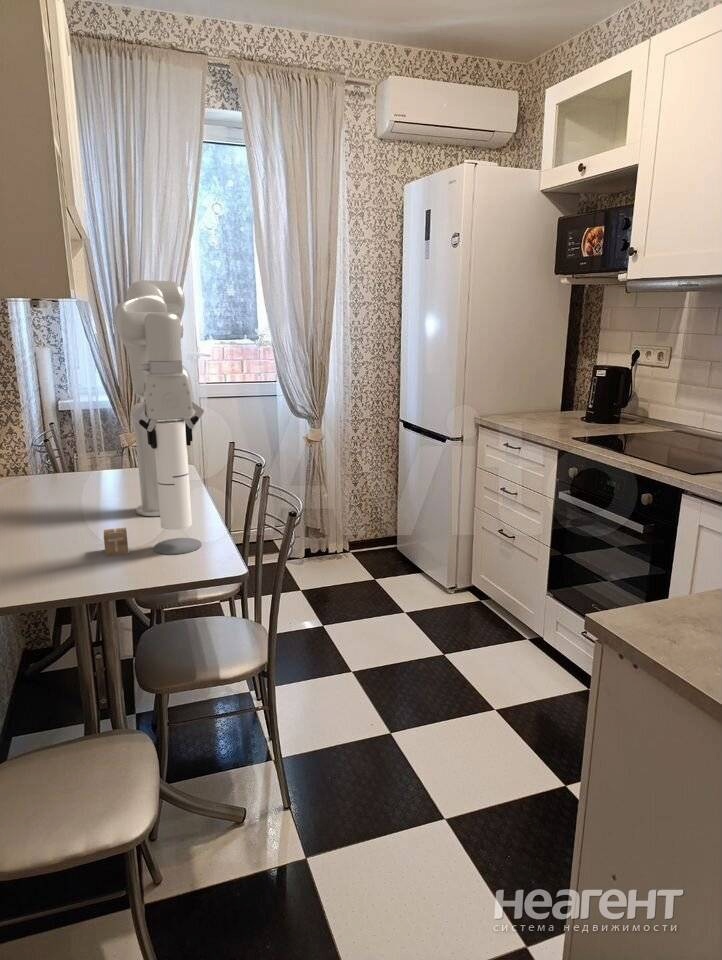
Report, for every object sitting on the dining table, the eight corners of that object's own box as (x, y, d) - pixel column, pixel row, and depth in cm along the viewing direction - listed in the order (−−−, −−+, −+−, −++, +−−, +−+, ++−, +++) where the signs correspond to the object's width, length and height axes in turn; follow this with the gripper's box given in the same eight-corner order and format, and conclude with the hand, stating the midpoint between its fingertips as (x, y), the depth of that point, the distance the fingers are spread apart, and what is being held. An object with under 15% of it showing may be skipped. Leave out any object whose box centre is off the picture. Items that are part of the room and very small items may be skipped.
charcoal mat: (166, 538, 160) (165, 537, 160) (208, 540, 159) (207, 538, 158) (146, 553, 149) (145, 551, 149) (190, 555, 148) (190, 554, 148)
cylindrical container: (195, 526, 151) (188, 422, 145) (164, 531, 148) (156, 424, 142) (187, 519, 157) (180, 418, 151) (157, 523, 154) (149, 420, 148)
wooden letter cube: (105, 549, 152) (103, 529, 151) (127, 547, 154) (126, 526, 153) (105, 556, 148) (103, 535, 146) (128, 554, 149) (126, 533, 148)
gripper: (128, 371, 137) (135, 452, 141) (208, 368, 145) (212, 445, 149) (122, 369, 143) (128, 447, 147) (198, 366, 151) (203, 440, 155)
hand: (170, 445), depth 148 cm, fingers closed on cylindrical container, 7 cm apart
